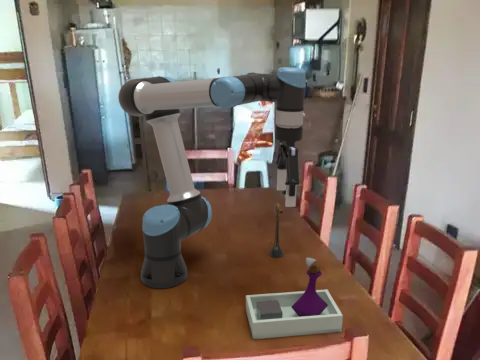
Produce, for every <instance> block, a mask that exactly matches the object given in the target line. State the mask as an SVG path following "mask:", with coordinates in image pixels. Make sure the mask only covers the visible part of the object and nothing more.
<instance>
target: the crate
mask: <svg viewBox="0 0 480 360" xmlns="http://www.w3.org/2000/svg"><path fill="white" fill-rule="evenodd" d="M315 290H316V293H317V294H318V295H319V296H320V297H321V298H322V299H323V300H324V301H325V302H326V303H327V304H328V306H327V307H326V308H325V310H324V311H323V312H322V313H321V314H320V315H316V316H303V317H299V316H298V315H297V313H296V312H295V311H294V310H293V309H292V308H291V307H292V306H293V304H294V303H295V302H296V301H297V300H298V299H299V298H300V297H301V296H302V295H303V294H304V292H305V291H306V290H302V291H301V290H300V291H299V290H298V291H287V292H276V293H275V292H274V293H262V294H261V293H259V294H250V295H249V294H247V295H245V312H246V316H247V322H248V324H249V328H250V333H251V337H252V340H260V339H271V338H273V339H274V338H283V337H284V338H285V337H295V336H296V337H297V336H307V335H308V336H309V335H318V334H319V335H320V334H330V333H331V334H332V333H342V331H343V321H344V319H343V318H344V315H343V314H342V312H341V310H340V307H339V306H338V304H337V303H336V302H335V300H334V298H333V296H332V295H331V293H330V291H329V289H327V288H326V289H315ZM271 300H278V302H279V305H280V307H281V310H282V318H278V319H266V320H258V318H257V314H256V311H257V302H258V301H271Z"/></svg>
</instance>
